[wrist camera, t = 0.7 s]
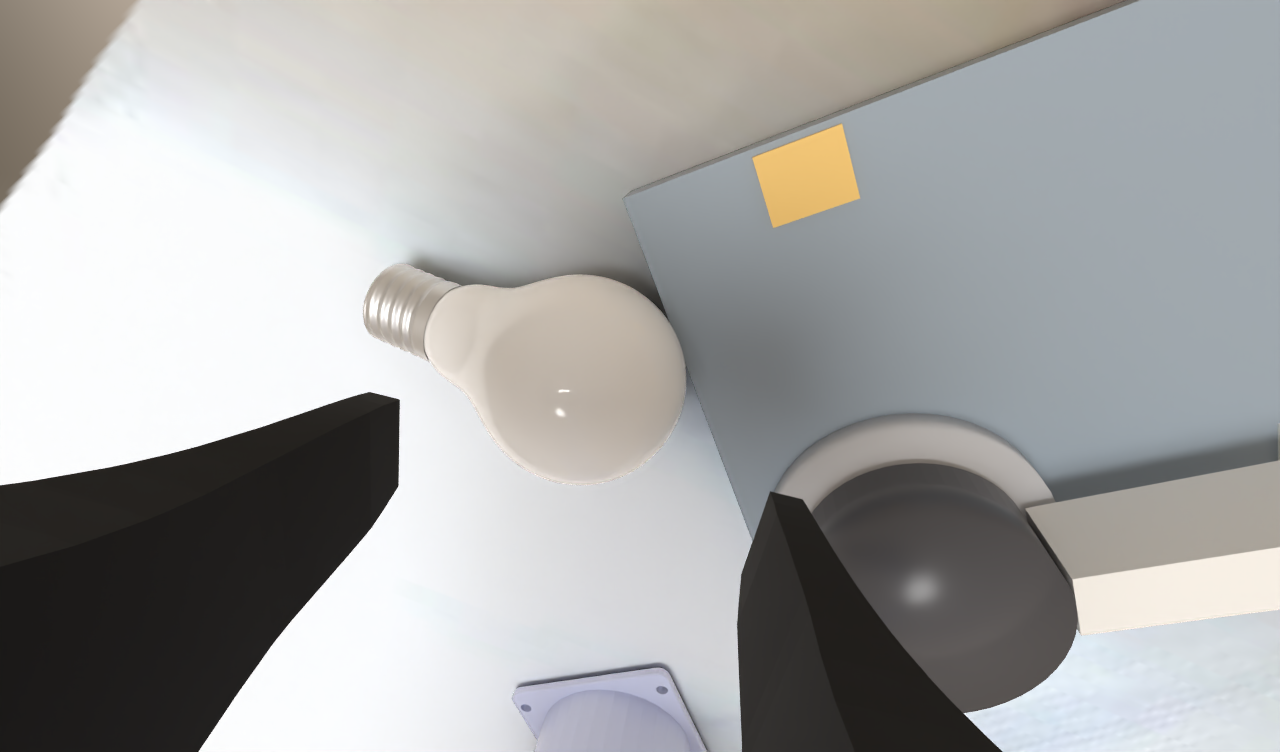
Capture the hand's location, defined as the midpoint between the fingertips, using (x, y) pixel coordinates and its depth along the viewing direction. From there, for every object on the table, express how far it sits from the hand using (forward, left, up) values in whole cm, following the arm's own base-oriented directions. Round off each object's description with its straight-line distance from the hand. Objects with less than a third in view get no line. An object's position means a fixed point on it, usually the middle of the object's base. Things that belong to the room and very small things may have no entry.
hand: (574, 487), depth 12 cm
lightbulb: (+4, +8, -9) cm, 13 cm away
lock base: (-6, -10, -10) cm, 15 cm away
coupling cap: (-10, -10, -7) cm, 16 cm away
